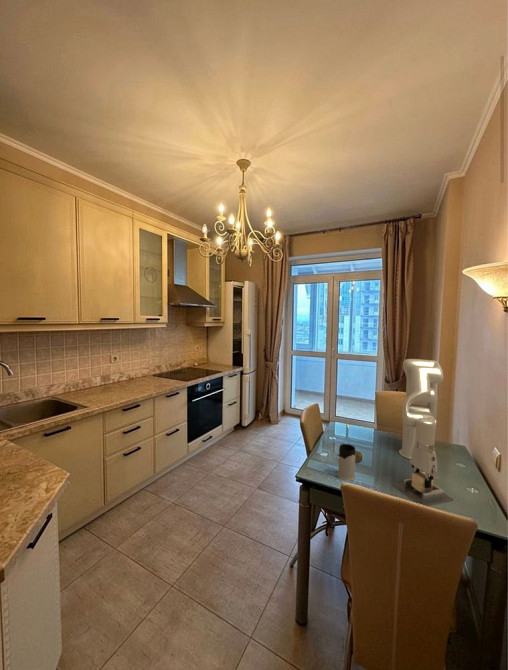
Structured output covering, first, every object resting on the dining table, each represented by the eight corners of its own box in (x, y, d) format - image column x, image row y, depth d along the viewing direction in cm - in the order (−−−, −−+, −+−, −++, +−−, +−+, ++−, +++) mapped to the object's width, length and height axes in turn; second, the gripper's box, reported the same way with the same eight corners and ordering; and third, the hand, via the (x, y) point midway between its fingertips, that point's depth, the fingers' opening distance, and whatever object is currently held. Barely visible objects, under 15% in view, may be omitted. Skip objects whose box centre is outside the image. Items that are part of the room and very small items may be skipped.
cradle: (422, 480, 135) (422, 473, 135) (453, 500, 120) (453, 492, 120) (392, 485, 130) (393, 477, 130) (421, 506, 115) (422, 498, 115)
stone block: (359, 464, 150) (359, 455, 150) (339, 457, 157) (339, 448, 157) (362, 460, 154) (363, 452, 154) (343, 453, 162) (343, 445, 162)
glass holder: (345, 482, 131) (346, 452, 131) (326, 467, 144) (328, 440, 144) (359, 478, 135) (360, 449, 134) (339, 465, 148) (340, 438, 147)
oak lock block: (423, 483, 128) (423, 471, 128) (432, 490, 124) (433, 477, 123) (411, 485, 126) (412, 473, 126) (420, 492, 122) (421, 479, 121)
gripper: (448, 453, 117) (445, 494, 118) (415, 437, 133) (413, 473, 134) (435, 455, 115) (432, 496, 116) (403, 438, 131) (401, 475, 132)
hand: (422, 483), depth 125 cm, fingers closed on oak lock block, 4 cm apart
